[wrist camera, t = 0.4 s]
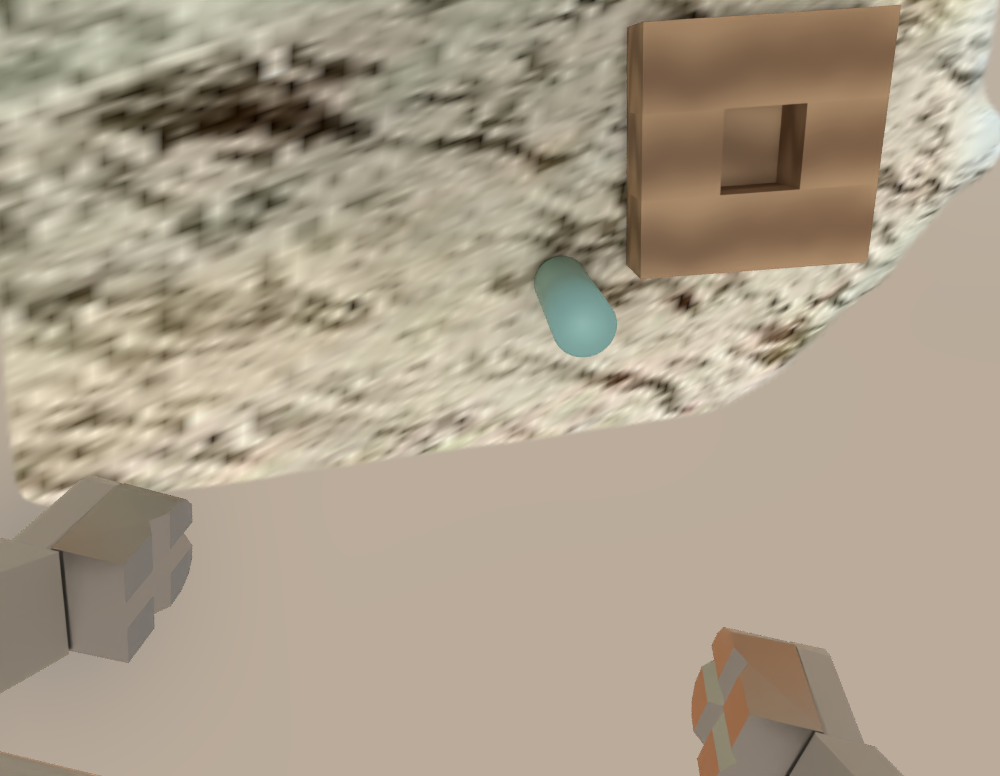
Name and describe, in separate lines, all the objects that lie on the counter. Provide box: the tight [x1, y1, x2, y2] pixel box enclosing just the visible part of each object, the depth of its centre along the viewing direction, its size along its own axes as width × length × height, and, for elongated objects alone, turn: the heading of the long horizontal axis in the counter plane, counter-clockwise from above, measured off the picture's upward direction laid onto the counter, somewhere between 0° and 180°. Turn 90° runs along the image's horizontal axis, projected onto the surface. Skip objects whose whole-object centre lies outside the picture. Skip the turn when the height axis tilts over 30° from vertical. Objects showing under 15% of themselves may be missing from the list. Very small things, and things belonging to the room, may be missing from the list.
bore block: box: [627, 5, 901, 279], centre depth 50 cm, size 16×16×4 cm
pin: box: [534, 256, 617, 357], centre depth 50 cm, size 4×4×11 cm
